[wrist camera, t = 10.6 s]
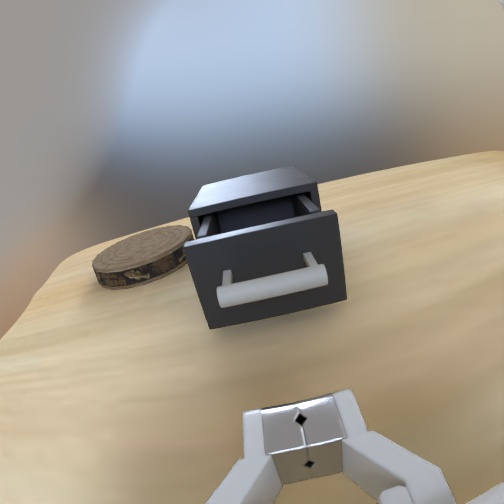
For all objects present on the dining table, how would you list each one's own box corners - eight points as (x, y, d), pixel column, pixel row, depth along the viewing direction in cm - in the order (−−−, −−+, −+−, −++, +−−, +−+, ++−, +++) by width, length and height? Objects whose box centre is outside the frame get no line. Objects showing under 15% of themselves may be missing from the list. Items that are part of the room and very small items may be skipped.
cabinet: (329, 267, 33) (316, 181, 30) (211, 293, 34) (187, 210, 31) (303, 227, 47) (292, 165, 44) (218, 245, 47) (203, 185, 44)
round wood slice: (182, 279, 39) (174, 256, 38) (81, 295, 41) (73, 276, 40) (205, 235, 54) (200, 218, 53) (123, 252, 56) (118, 237, 55)
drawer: (364, 328, 22) (356, 230, 19) (205, 362, 22) (172, 271, 19) (312, 243, 38) (301, 183, 35) (217, 264, 38) (201, 205, 36)
